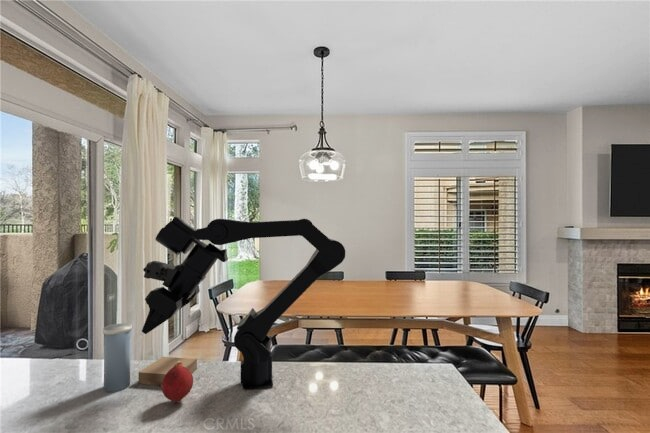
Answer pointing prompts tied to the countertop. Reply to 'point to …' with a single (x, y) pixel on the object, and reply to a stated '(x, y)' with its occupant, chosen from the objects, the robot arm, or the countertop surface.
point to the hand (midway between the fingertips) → (152, 326)
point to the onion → (177, 382)
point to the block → (163, 369)
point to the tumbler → (117, 357)
